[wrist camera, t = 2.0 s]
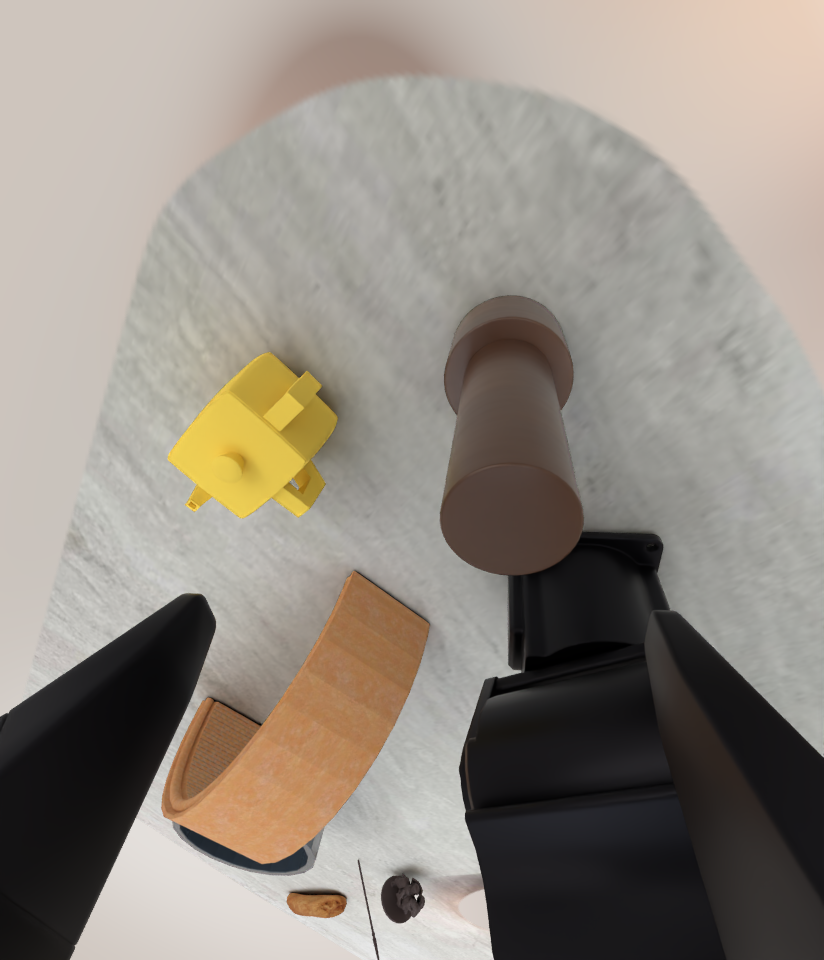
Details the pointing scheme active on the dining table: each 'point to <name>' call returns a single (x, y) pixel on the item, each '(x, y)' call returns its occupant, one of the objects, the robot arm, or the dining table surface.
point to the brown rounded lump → (316, 905)
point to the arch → (300, 734)
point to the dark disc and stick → (398, 900)
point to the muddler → (510, 440)
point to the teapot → (257, 441)
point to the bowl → (286, 866)
